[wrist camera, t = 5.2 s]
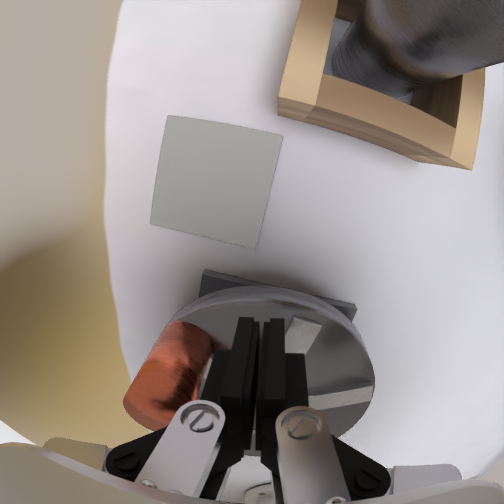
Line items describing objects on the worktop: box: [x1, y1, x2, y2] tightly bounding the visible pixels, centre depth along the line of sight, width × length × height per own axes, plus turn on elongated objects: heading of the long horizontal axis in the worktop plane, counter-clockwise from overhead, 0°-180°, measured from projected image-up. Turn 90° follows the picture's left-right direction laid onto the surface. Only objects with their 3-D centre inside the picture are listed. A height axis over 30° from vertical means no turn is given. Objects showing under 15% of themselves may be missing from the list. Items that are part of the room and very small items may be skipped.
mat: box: [150, 115, 283, 250], centre depth 14 cm, size 6×6×1 cm
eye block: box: [278, 0, 485, 170], centre depth 9 cm, size 8×8×5 cm
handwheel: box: [123, 286, 375, 456], centre depth 12 cm, size 12×12×6 cm
